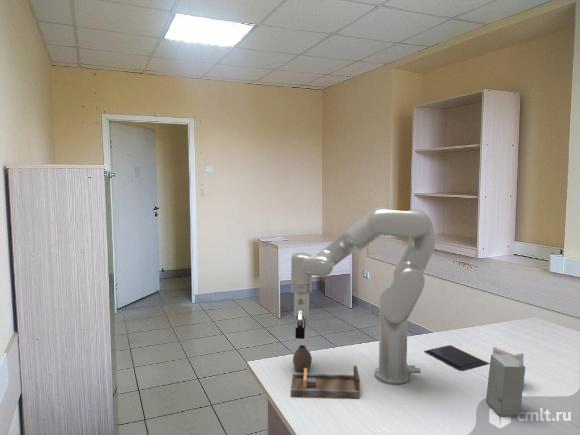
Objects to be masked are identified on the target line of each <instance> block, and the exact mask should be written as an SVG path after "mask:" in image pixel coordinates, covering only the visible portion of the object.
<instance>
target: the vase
mask: <svg viewBox="0 0 580 435" xmlns="http://www.w3.org/2000/svg"><path fill="white" fill-rule="evenodd" d="M312 360H313V359H312V354H311V353H310V351H309V350H308V348H307V347H306V345H303V344H302V345H298V348H297V349H296V350H295V352H294V353H293V357H292V364H293V367H294V369H295V370H296V371H298V372H301V373H304V368H307V371H309V370H310V368H311V366H312V364H313V363H312Z"/></svg>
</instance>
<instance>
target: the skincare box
mask: <svg viewBox="0 0 580 435" xmlns="http://www.w3.org/2000/svg"><path fill="white" fill-rule="evenodd" d="M489 363H490V364H489V370H488V371H489V372H488V377H487V378H488V379H487V388H486V397H485V402H486V404H487V405H488V406H490V408H491V409H492V410H493V411H494V412H496V414H498V415H499V416H500V417H505V416H506V417H508V416H509V417H510V416H511V417H515V416H516V417H517V416H521V408H522V397H523V391H524V382H525V374H526V373H525V372H526V366H525V365H524V364H523V365H522V364H521V363H520V362H519V361H518V360H517V359H515V358H514V357H512V356H511V355H510V354H493V353H492V354H490V360H489Z"/></svg>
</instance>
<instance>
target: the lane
mask: <svg viewBox="0 0 580 435" xmlns="http://www.w3.org/2000/svg"><path fill="white" fill-rule="evenodd" d="M303 377H304V373H292V378H291V379H292V380H291V386H290V398H315V399H317V398H318V399H320V398H321V399H348V400H349V399H355V400H356V399H359V400H360V399H361V397H360V396H361V395H360V393H361V392H360V374H359V369H358V365H353V374H328V373H327V374H326V373H325V374H323V373H321V374H320V373H316V374H315V373H313V374H311V373H307V378H316V387H309V386H307V389H303Z"/></svg>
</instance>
